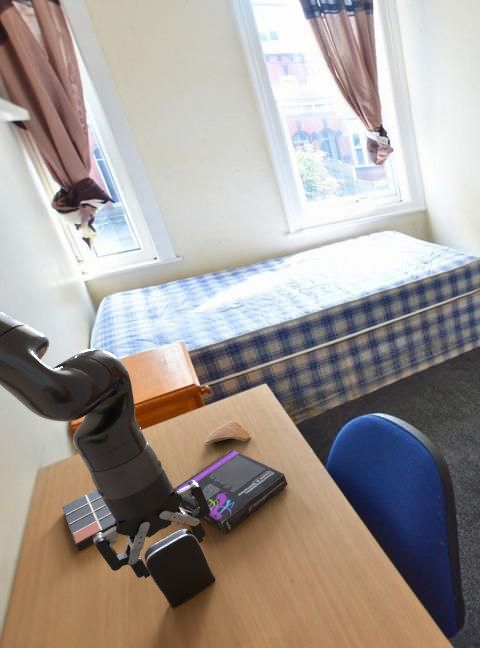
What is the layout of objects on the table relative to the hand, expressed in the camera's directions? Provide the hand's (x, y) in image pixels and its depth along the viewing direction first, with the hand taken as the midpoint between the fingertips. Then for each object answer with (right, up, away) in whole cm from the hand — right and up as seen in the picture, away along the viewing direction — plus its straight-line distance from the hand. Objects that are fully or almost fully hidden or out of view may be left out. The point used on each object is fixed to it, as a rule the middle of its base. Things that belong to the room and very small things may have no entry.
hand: (174, 556), depth 76 cm
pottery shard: (-16, +8, +42) cm, 46 cm away
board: (-29, -2, +23) cm, 37 cm away
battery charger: (+1, -7, +3) cm, 8 cm away
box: (-5, +1, +23) cm, 24 cm away
